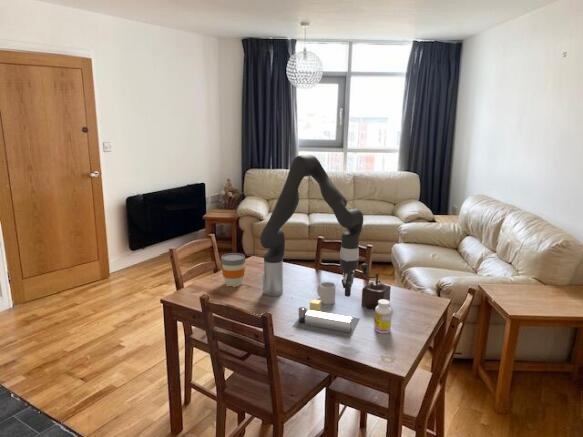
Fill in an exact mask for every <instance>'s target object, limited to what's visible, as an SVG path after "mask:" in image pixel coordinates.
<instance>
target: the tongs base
mask: <svg viewBox="0 0 583 437" xmlns="http://www.w3.org/2000/svg"><path fill="white" fill-rule="evenodd" d="M306 309H307V308H306V307H304V306H301V307H298V318H299V323H305V324H306V325H311V326H317V327H322V328H327V329H333V330H338V331H343V332H350V322H351V320H346V319H341V318H335V317H329V316H324V315H318V314H312V313H306Z"/></svg>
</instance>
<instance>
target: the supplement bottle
mask: <svg viewBox="0 0 583 437" xmlns="http://www.w3.org/2000/svg"><path fill="white" fill-rule="evenodd" d="M390 304H391V302H389V301H388V300H385V299H381V300H379V301H378V306H376V308H375V311H374V330H375V332H377V333H379V334H388V333H390V332H391V326H392V325H391V324H392V311H393V310H392V307H391V306H390Z"/></svg>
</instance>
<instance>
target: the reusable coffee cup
mask: <svg viewBox="0 0 583 437" xmlns="http://www.w3.org/2000/svg"><path fill="white" fill-rule="evenodd" d="M245 263H246V255H244V253H238V252H230V253H225V254H223V255H221V259H220V264H221V265H222V266H221V272H222V277H223V278H224V285H225V284H226V285H227V287H228V286H238V287H240V286H239V285H241V284H242V285H243V283H244V282H243V281H244V276H245V273H246V272H245V271H246V266H245ZM226 285H225V286H226ZM242 285H241V286H242Z"/></svg>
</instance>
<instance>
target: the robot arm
mask: <svg viewBox="0 0 583 437" xmlns="http://www.w3.org/2000/svg"><path fill="white" fill-rule="evenodd" d="M310 176H311V178H313V179H314V180H315V181H316V183H317V185H318V186H319V189H320V194H321V197H322V199H323V200H324V201H325V202H326V204H327V205H328V206H329V207H330V209H331V210H332V211H333V212H332V213H333V214H334V216H335V218H336V221H337V223H338V224H339V225H340V226H341V227H342V228H345V229H346V230H345V231H344V232H343V233H342V234H341V239H340V240H341V242H340V243H341V244H340V253H339V256H340V258H339V268H340V269H341V270H343V273H342V278H343V279H342V278H341V284H342V289H344V296H345V297H348V298H349V297H351V295H352V294H351V291H352V286H353V283H354V279H355V278H354V277H355V274H356V270H357V269H359V256H360V250H359V243H360V242H359V241H360V235H361V233H362V232H361V231H362V228H363V226H364V215H363V212H362V210H360V209H359V208H352V209H347V205H348V200H347V199H346V197H345V196H344V195H343V194H342V192H340V190H339V189H338V188H337V187H336V186H335V185H334V183H333V182H332V180H331V179H330V177H329V175H328V173H327V172H326V171H325V169H324V167H323V165H322V164H321V162H320V161H319V159H318V158H317V157H316V156H315V155H313V154H301V155H297V156H295V157H294V158H293V160H292V161H291V165H290V166H289V171H288V174H287V176H286V177H287V178H286V180H285V183H284V185H283V188H282V190H281V192H280V195H279V197H278V199H277V201H276V204H275V206H274V208H273V210H272V213H271V215H270V218H269V219H268V221H267V223H266V225H265V226H264V228H263V230H262V232H261V234H260V237H259V243H260V245H261V247H262V248H263V249H267V252H266V253H264V256H263V275H262V294H264V295H266V296H268V297H278V296H281V295H282V294H283V293H284V292H283V291H284V288H283V287H284V286H283V285H284V281H283V280H284V278H283V276H284V275H283V274H284V272H283V271H284V270H283V269H284V268H283V267H284V266H283V264H284V261H283V258H284V255H285V245H286V237H285V233H284V231H283V229H282V227H283V226H284V225H285V224H286V223H287V222H288V221H289V220H290V219H291V218H292V217H293V215H294V214H295V212H296V210H297V208H298V205H299V202H300V194H299V187H300V185H301V183H302V181H303V179H304V178H305V177H310Z"/></svg>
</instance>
